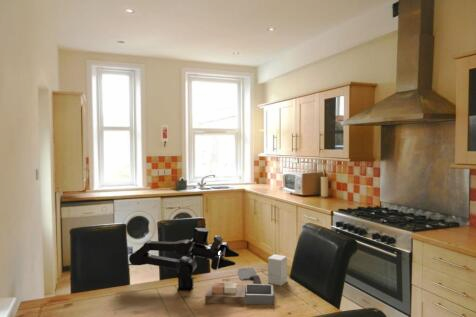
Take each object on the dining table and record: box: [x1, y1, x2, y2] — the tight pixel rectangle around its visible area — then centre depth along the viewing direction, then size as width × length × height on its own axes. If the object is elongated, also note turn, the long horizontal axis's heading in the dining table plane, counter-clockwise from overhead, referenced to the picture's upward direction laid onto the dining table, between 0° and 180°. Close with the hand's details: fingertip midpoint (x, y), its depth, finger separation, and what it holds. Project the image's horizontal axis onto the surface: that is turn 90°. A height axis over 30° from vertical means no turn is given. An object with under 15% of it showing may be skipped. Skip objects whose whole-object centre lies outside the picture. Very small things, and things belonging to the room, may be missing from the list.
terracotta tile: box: [212, 282, 226, 293], centre depth 161 cm, size 5×5×2 cm
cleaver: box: [237, 267, 262, 284], centre depth 183 cm, size 29×10×2 cm, turn 9°
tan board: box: [204, 284, 247, 305], centre depth 161 cm, size 17×12×3 cm
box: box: [245, 283, 275, 306], centre depth 160 cm, size 12×12×4 cm
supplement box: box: [267, 253, 288, 287], centre depth 178 cm, size 7×7×13 cm
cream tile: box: [224, 282, 238, 293], centre depth 161 cm, size 5×5×2 cm
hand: (237, 259), depth 167 cm, fingers open, 9 cm apart
